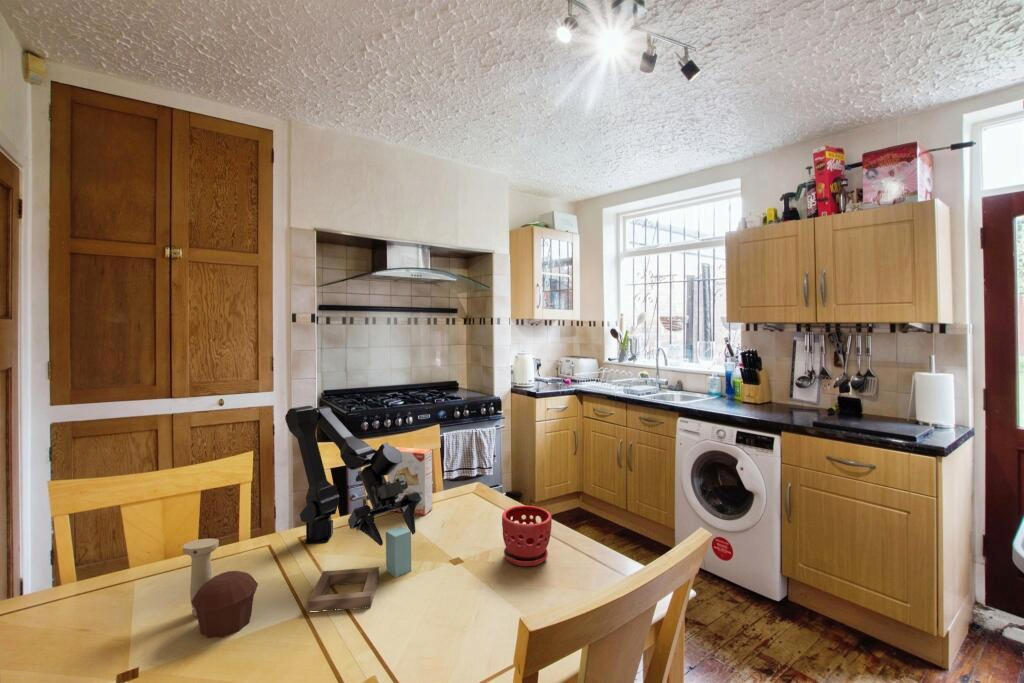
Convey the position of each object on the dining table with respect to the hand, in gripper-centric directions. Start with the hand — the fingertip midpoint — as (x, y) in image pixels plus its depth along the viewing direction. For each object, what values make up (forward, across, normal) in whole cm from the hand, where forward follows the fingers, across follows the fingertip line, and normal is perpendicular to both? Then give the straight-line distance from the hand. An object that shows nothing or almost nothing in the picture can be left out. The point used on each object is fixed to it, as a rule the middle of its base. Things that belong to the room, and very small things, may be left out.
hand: (398, 539), depth 117 cm
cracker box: (-18, +24, +29) cm, 42 cm away
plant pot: (+19, +27, -7) cm, 34 cm away
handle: (-4, -40, +15) cm, 43 cm away
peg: (+6, 0, +6) cm, 8 cm away
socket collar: (+6, -14, +5) cm, 16 cm away
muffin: (+2, -37, +10) cm, 38 cm away
